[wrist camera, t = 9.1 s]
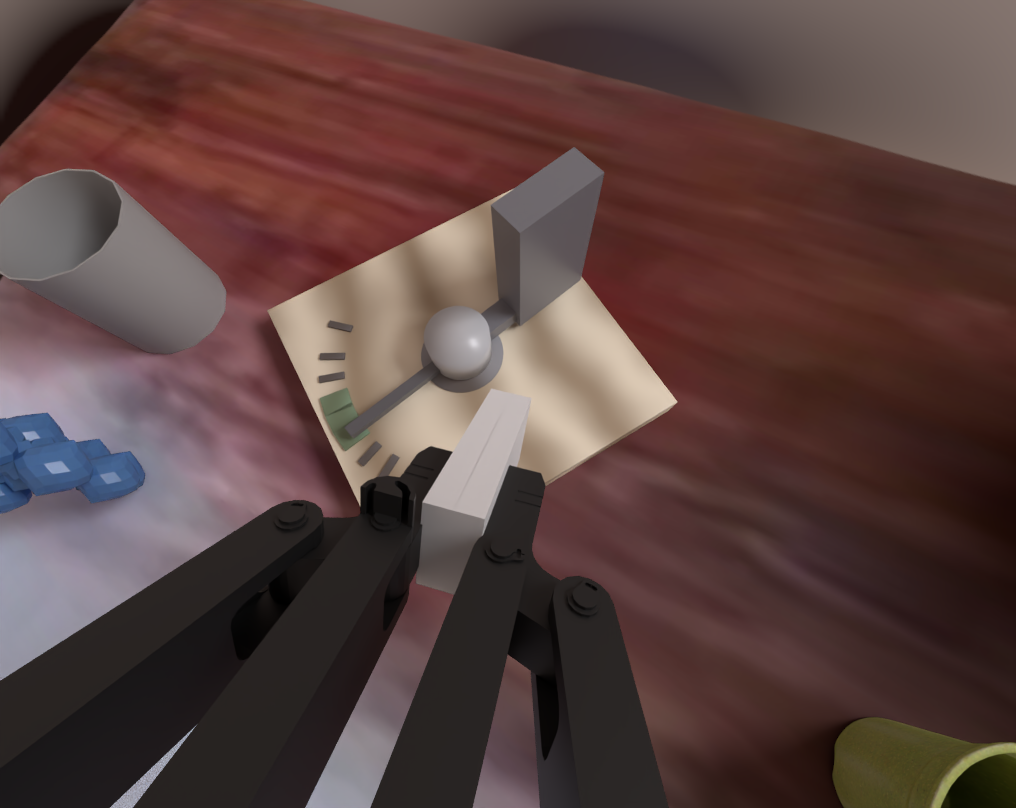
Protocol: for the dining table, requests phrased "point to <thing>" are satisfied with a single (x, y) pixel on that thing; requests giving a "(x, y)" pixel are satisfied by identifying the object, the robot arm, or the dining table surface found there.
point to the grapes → (59, 464)
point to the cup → (108, 261)
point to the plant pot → (920, 768)
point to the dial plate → (453, 403)
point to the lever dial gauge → (512, 273)
